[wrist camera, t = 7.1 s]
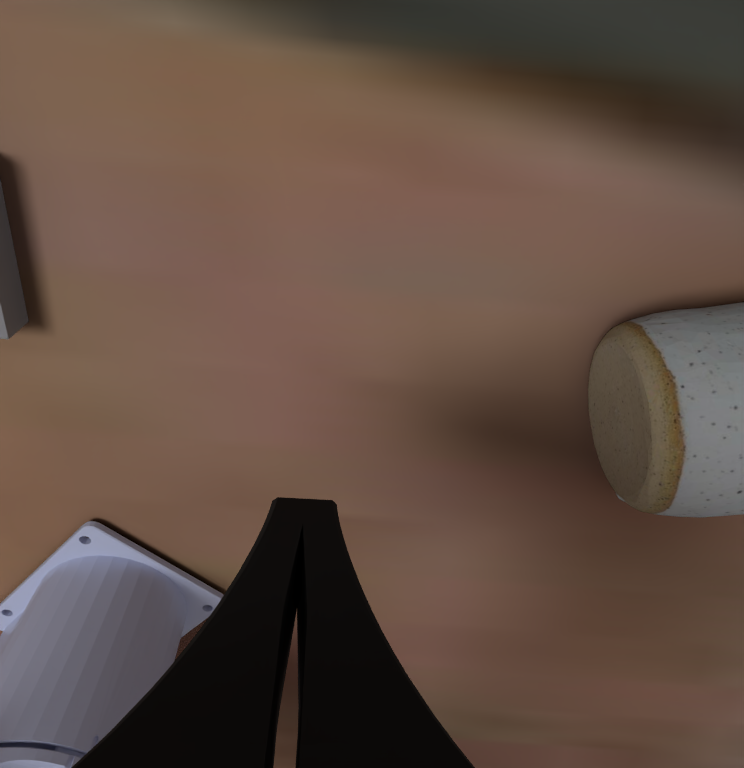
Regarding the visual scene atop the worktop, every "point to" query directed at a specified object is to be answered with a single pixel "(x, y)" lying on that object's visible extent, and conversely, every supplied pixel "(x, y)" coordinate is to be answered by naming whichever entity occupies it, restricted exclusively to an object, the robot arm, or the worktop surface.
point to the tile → (9, 281)
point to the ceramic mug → (672, 411)
